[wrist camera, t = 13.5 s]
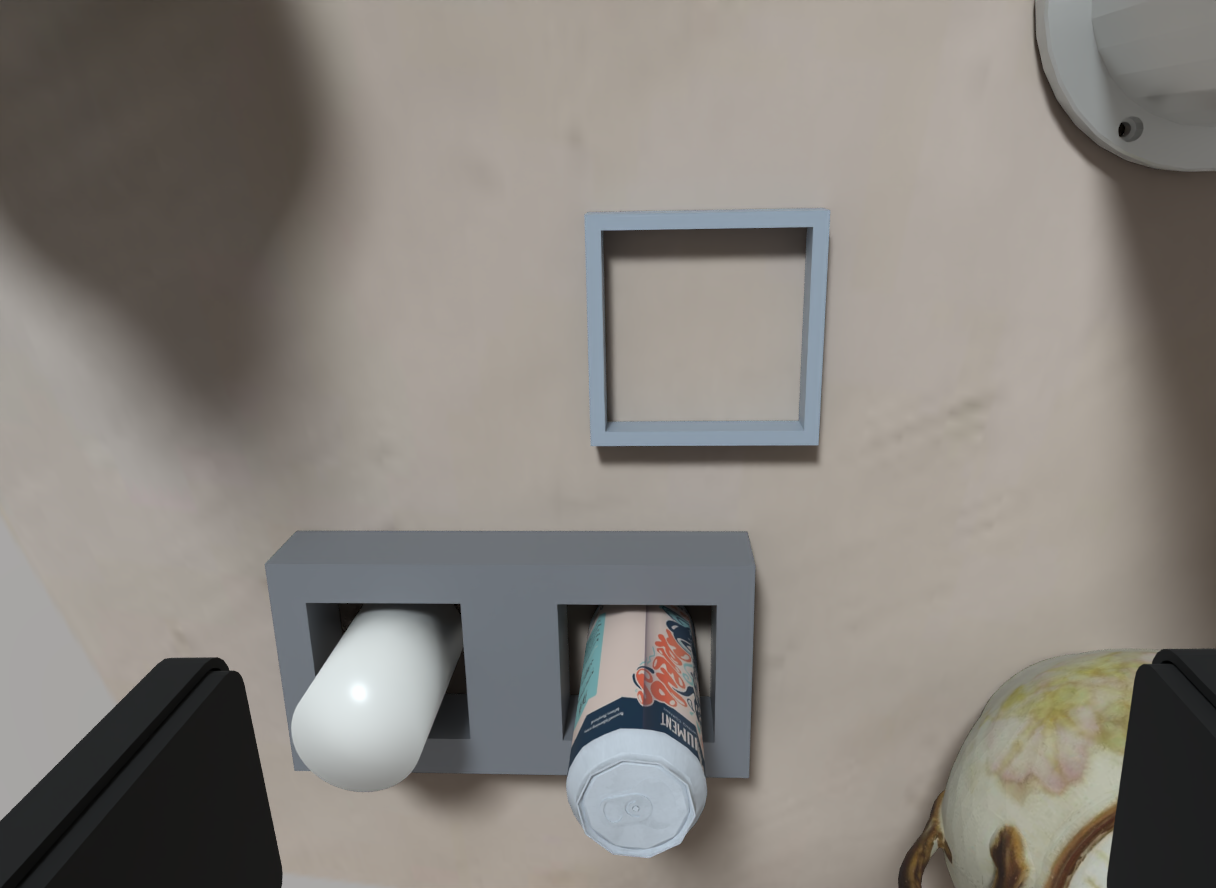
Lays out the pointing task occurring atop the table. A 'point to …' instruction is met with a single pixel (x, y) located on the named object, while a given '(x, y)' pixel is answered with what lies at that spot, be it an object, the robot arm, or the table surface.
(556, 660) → the two-slot holder block
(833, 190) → the table surface
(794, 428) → the hollow square frame
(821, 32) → the table surface
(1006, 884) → the sugar bowl
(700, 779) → the beer can
